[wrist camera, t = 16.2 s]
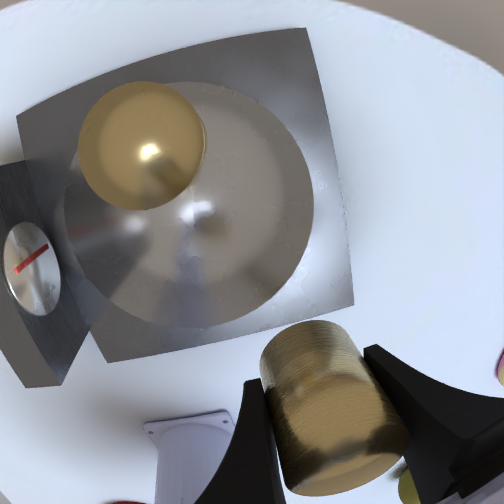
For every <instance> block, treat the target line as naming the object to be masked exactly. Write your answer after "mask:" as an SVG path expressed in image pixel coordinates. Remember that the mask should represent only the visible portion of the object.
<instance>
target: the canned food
mask: <svg viewBox="0 0 504 504" xmlns="http://www.w3.org/2000/svg"><path fill="white" fill-rule="evenodd" d="M114 504H144V503H138V502H116V503H114Z"/></svg>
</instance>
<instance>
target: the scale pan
mask: <svg viewBox="0 0 504 504" xmlns="http://www.w3.org/2000/svg"><path fill="white" fill-rule="evenodd" d="M164 85H166V86H169V87H171V88H173V89H175V90H176V91H178V92H179V93H180V94H182V95H183V96H184V97H185V98H186V99H187V100H188V101H189V102H190V104H191V105H192V106H193V108H194V109H195V111H196V112H197V113H198V115H199V116H200V118H201V119H202V121H203V123H204V126H205V128H206V132H207V140H208V141H207V150H206V154H205V157H204V159H203V161H202V163H201V165H200V167H199V169H198V171H197V173H196V175H195V176H194V178H193V180H192V181H191V183H190V184H189V185H188V186H187V188H186V189H185V190H184V191H183V192H182V193H181V194H180V195H178V196H177V197H176V198H174V199H173V200H172V201H170V202H168V203H166V204H164V205H162V206H159V207H157V208H153V209H149V210H127V209H122V208H119V207H116V206H114V205H111V204H110V203H108V202H106V201H105V200H103V199H102V198H101V197H99V196H98V195H97V194H96V193H95V192H94V191H93V190H92V188H91V187H90V186H89V184H88V183H87V181H86V179H85V177H84V175H83V173H82V170H81V167H80V163H79V157H78V149H77V151H76V153H75V155H74V158H73V160H72V163H71V166H70V168H69V172H68V176H67V181H66V185H65V194H64V218H65V224H66V230H67V235H68V238H69V241H70V244H71V248H72V250H73V252H74V254H75V257H76V259H77V261H78V263H79V265H80V266H81V268H82V270H83V271H84V273H85V274H86V276H87V277H88V278H89V280H90V281H91V282H92V283H93V285H94V286H95V287H96V288H97V289H98V290H99V291H100V292H101V293H102V294H103V295H104V296H105V297H106V298H107V299H109V300H110V301H111V302H113V303H114V304H115V305H116V306H118V307H119V308H121V309H123V310H124V311H126V312H128V313H129V314H131V315H133V316H136V317H138V318H140V319H142V320H145V321H148V322H151V323H155V324H158V325H162V326H168V327H174V328H204V327H210V326H216V325H220V324H224V323H227V322H230V321H233V320H236V319H238V318H240V317H243V316H245V315H247V314H249V313H250V312H252V311H254V310H256V309H257V308H259V307H260V306H262V305H263V304H264V303H266V302H267V301H268V300H270V299H271V298H272V297H273V296H274V295H275V294H276V293H277V292H278V291H279V290H280V289H281V288H282V287H283V286H284V285H285V284H286V282H287V281H288V280H289V279H290V277H291V276H292V275H293V273H294V271H295V270H296V268H297V266H298V265H299V263H300V261H301V259H302V257H303V255H304V252H305V250H306V248H307V245H308V241H309V238H310V234H311V230H312V224H313V217H314V195H313V186H312V181H311V177H310V173H309V169H308V166H307V164H306V161H305V159H304V156H303V154H302V151H301V150H300V148H299V146H298V144H297V143H296V141H295V139H294V138H293V136H292V135H291V133H290V132H289V131H288V130H287V128H286V127H285V126H284V125H283V123H282V122H281V121H280V120H279V119H278V118H277V117H275V116H274V115H273V114H272V113H271V112H270V111H269V110H268V109H266V108H265V107H264V106H262V105H261V104H259V103H258V102H257V101H255V100H253V99H251V98H250V97H248V96H246V95H244V94H242V93H240V92H237V91H235V90H232V89H229V88H226V87H223V86H219V85H214V84H209V83H203V82H177V83H167V84H164Z"/></svg>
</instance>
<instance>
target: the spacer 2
mask: <svg viewBox="0 0 504 504" xmlns="http://www.w3.org/2000/svg"><path fill="white" fill-rule="evenodd" d="M259 366H260V373H261V378H262V383H263V387H264V392H265V397H266V401H267V406H268V411H269V415H270V420H271V424H272V429H273V433H274V438H275V442H276V447H277V451H278V456H279V460H280V465H281V469H282V474H283V478H284V482H285V485H286V487H287V488H288V489H289V490H290V491H291V492H293V493H295V494H298V495H303V496H327V495H333V494H338V493H342V492H346V491H349V490H352V489H354V488H357V487H359V486H362V485H364V484H366V483H368V482H370V481H372V480H374V479H375V478H377V477H379V476H380V475H382V474H383V473H385V472H386V471H387V470H389V469H390V468H391V467H392V466H393V465H395V464H396V463H397V462H398V461H399V460H400V458H401V457H402V456H403V455H404V453H405V452H406V450H407V448H408V446H409V444H410V433H409V431H408V430H407V428H406V426H405V425H404V423H403V421H402V420H401V418H400V416H399V415H398V413H397V411H396V410H395V408H394V407H393V405H392V403H391V402H390V400H389V398H388V397H387V395H386V393H385V392H384V390H383V389H382V387H381V385H380V384H379V382H378V381H377V379H376V377H375V376H374V374H373V373H372V371H371V369H370V368H369V366H368V365H367V363H366V361H365V360H364V358H363V357H362V355H361V354H360V352H359V350H358V349H357V347H356V346H355V344H354V343H353V341H352V339H351V338H350V336H349V335H348V333H347V332H346V331H345V330H344V329H343V328H342V327H340V326H339V325H337V324H335V323H332V322H329V321H324V320H311V321H305V322H301V323H297V324H295V325H292V326H290V327H288V328H286V329H284V330H283V331H281V332H280V333H278V334H277V335H276V336H275V337H274V338H273V339H272V340H271V341H270V342H269V343H268V344H267V346H266V347H265V349H264V350H263V353H262V355H261V358H260V365H259Z"/></svg>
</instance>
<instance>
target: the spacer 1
mask: <svg viewBox="0 0 504 504" xmlns="http://www.w3.org/2000/svg"><path fill="white" fill-rule="evenodd" d="M207 141H208V140H207V132H206V128H205V126H204V123H203V121H202V119H201V118H200V116H199V115H198V113H197V112H196V111H195V109H194V108H193V106H192V105H191V104H190V102H189V101H188V100H187V99H186V98H185V97H184V96H183V95H182V94H180V93H179V92H178V91H176V90H175V89H173V88H171V87H169V86H166V85H164V84H161V83H156V82H150V81H138V82H132V83H127V84H124V85H121V86H119V87H117V88H115V89H113V90H111V91H110V92H108V93H107V94H105V95H104V96H103V97H102V98H101V99H99V100H98V101H97V103H96V104H95V105H94V106H93V107H92V109H91V110H90V111H89V113H88V115H87V116H86V118H85V120H84V122H83V125H82V128H81V131H80V135H79V141H78V157H79V163H80V167H81V170H82V173H83V175H84V177H85V179H86V181H87V183H88V184H89V186H90V187H91V188H92V190H93V191H94V192H95V193H96V194H97V195H98V196H99V197H101V198H102V199H103V200H105V201H106V202H108V203H110V204H111V205H114V206H116V207H119V208H122V209H127V210H149V209H153V208H157V207H159V206H162V205H164V204H166V203H168V202H170V201H172V200H173V199H174V198H176V197H177V196H178V195H180V194H181V193H182V192H183V191H184V190H185V189H186V188H187V186H188V185H189V184H190V183H191V181H192V180H193V178H194V176H195V175H196V173H197V171H198V169H199V167H200V165H201V163H202V161H203V159H204V157H205V154H206V150H207Z"/></svg>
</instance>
